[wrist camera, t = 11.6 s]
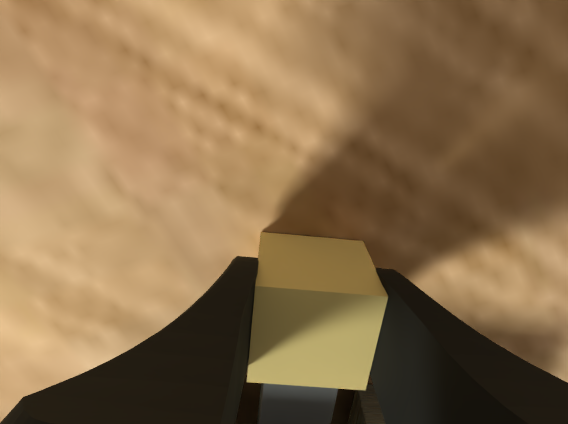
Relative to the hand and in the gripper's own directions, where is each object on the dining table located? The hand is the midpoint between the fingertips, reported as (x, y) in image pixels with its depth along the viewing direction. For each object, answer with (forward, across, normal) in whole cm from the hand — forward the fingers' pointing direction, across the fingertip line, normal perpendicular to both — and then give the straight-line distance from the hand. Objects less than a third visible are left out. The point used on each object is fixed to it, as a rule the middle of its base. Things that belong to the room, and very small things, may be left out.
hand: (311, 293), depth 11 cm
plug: (+2, 0, +5) cm, 5 cm away
